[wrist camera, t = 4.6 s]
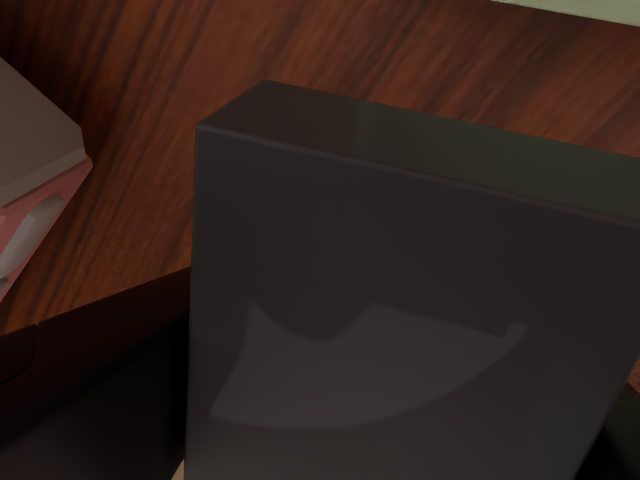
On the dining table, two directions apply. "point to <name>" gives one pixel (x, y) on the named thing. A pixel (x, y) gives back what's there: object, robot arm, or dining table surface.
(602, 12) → the case
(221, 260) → the dark grey flat block
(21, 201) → the alarm clock
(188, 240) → the dining table surface
